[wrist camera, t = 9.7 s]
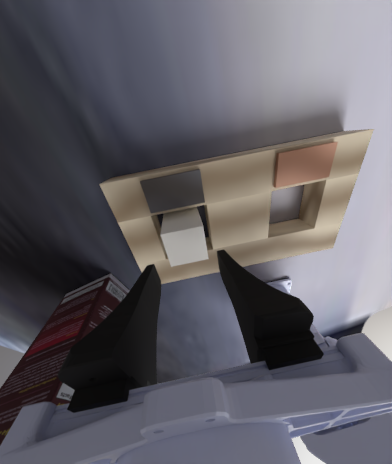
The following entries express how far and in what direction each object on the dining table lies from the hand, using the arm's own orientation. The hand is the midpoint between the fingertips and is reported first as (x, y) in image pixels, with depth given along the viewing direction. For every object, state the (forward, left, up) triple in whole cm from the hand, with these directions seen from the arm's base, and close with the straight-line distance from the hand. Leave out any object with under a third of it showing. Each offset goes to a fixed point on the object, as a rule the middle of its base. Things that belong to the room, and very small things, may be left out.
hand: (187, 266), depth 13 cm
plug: (0, 0, -8) cm, 9 cm away
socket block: (0, -7, -8) cm, 11 cm away
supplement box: (-9, +15, -9) cm, 20 cm away
